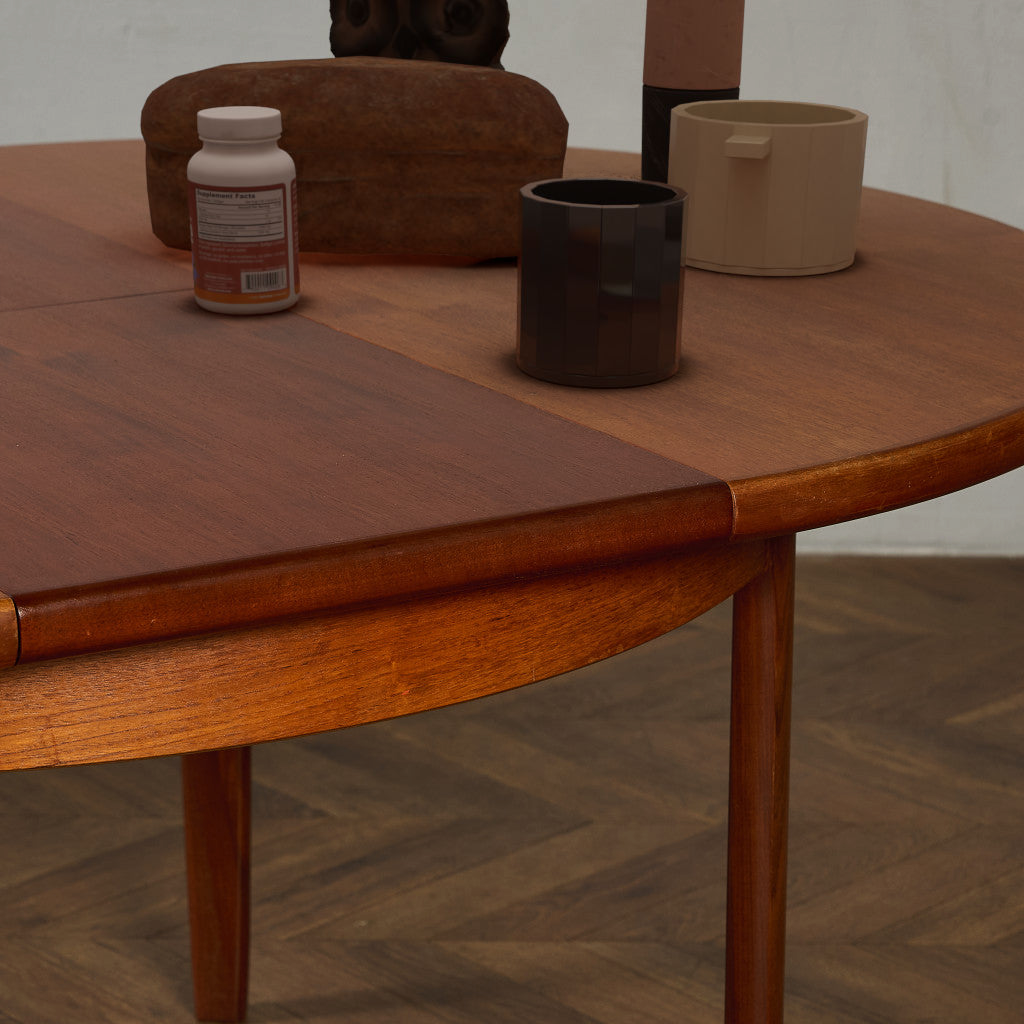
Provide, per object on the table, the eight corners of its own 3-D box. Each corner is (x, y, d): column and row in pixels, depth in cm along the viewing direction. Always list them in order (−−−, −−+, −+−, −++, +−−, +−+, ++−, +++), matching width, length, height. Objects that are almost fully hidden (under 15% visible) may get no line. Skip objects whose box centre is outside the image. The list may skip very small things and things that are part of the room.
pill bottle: (230, 287, 100) (221, 101, 96) (319, 297, 98) (314, 108, 93) (173, 309, 94) (161, 114, 90) (266, 321, 92) (258, 121, 88)
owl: (525, 196, 129) (530, -72, 122) (380, 209, 123) (375, -72, 116) (453, 172, 139) (454, -77, 132) (316, 182, 134) (308, -77, 126)
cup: (708, 362, 86) (719, 190, 83) (618, 398, 80) (625, 214, 76) (579, 334, 91) (584, 171, 87) (484, 366, 84) (486, 192, 81)
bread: (172, 223, 118) (161, 47, 113) (563, 229, 118) (567, 53, 113) (129, 265, 105) (115, 69, 100) (568, 272, 105) (573, 76, 100)
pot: (868, 236, 117) (881, 101, 113) (835, 292, 101) (849, 136, 97) (695, 223, 120) (702, 91, 117) (637, 275, 104) (643, 124, 101)
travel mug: (639, 202, 128) (651, -69, 121) (636, 184, 135) (647, -72, 128) (737, 204, 128) (755, -67, 120) (728, 186, 135) (745, -70, 128)
